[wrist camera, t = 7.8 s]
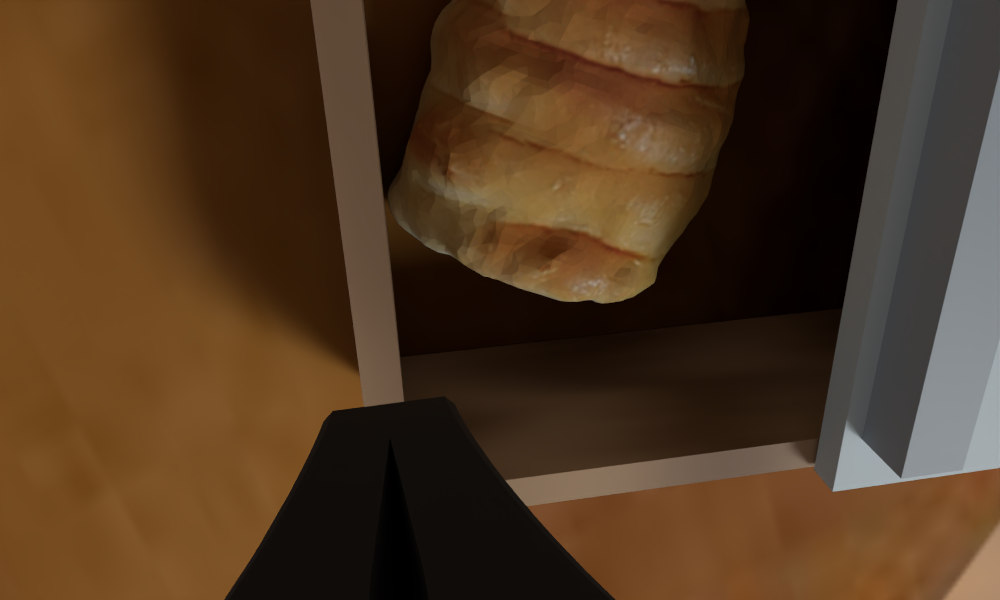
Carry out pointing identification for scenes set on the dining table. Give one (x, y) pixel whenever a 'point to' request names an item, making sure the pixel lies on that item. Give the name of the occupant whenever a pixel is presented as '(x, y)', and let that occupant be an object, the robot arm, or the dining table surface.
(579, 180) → the pastry
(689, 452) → the walnut box
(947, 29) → the lid
